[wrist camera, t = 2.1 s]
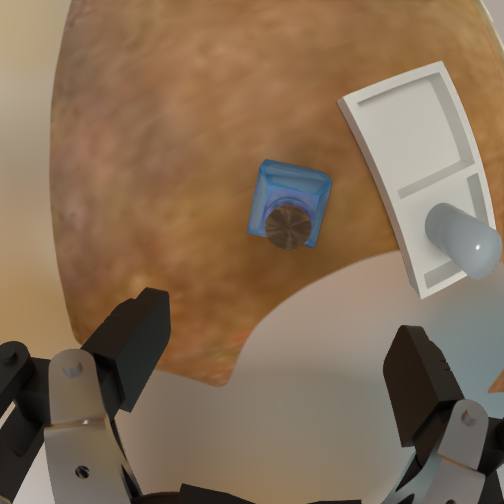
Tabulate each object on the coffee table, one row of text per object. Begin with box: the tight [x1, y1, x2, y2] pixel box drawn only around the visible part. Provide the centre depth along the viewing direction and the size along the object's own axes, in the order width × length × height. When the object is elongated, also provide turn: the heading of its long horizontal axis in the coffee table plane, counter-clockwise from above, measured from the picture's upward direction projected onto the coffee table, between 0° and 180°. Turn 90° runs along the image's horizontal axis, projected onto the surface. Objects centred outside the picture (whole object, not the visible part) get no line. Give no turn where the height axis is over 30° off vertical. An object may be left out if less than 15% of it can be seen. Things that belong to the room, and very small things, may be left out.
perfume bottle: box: [247, 159, 332, 250], centre depth 25 cm, size 6×6×12 cm
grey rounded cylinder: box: [425, 203, 502, 279], centre depth 24 cm, size 5×5×9 cm
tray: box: [336, 61, 496, 299], centre depth 26 cm, size 23×12×4 cm, turn 29°
